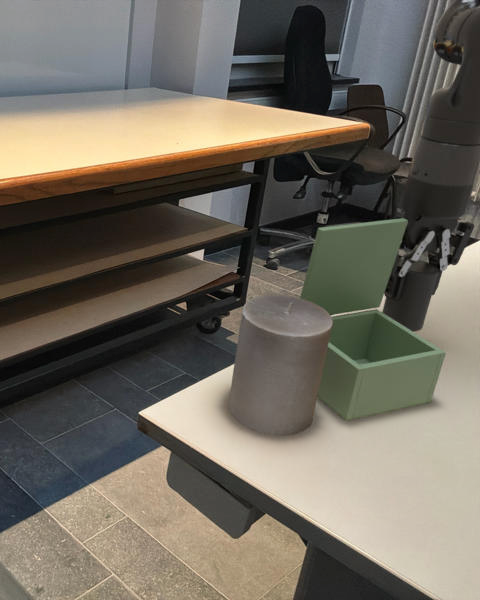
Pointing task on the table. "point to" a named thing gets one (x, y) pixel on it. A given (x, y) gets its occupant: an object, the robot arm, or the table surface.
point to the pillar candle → (279, 364)
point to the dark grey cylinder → (413, 296)
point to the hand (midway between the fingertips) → (409, 295)
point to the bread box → (377, 366)
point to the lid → (352, 265)
